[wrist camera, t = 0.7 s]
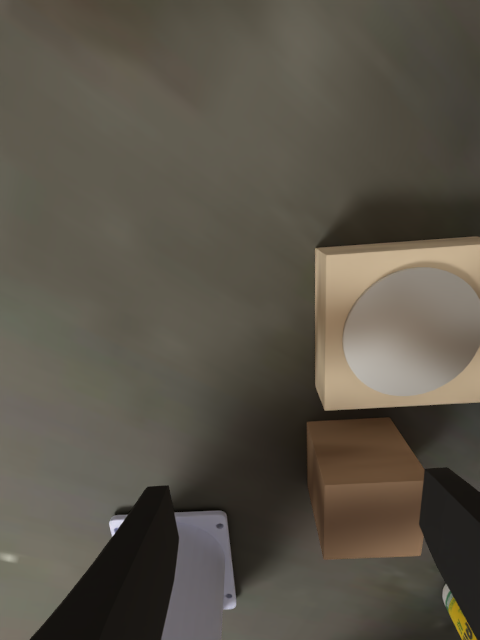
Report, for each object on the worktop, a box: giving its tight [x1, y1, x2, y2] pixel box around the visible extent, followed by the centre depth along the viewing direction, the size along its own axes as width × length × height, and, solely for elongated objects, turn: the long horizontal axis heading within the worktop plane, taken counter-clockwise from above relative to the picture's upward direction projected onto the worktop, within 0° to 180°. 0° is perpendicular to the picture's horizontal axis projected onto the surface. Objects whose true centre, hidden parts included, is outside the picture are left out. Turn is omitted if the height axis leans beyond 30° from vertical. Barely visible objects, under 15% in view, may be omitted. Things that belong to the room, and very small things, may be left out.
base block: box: [315, 236, 480, 411], centre depth 17 cm, size 8×8×3 cm
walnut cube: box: [307, 417, 425, 560], centre depth 19 cm, size 5×5×5 cm
